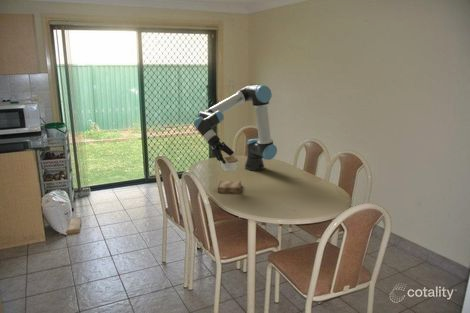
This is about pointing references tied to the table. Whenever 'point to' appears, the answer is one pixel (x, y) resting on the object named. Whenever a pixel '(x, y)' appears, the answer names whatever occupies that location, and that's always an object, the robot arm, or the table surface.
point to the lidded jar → (232, 162)
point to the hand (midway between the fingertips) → (233, 165)
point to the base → (229, 186)
